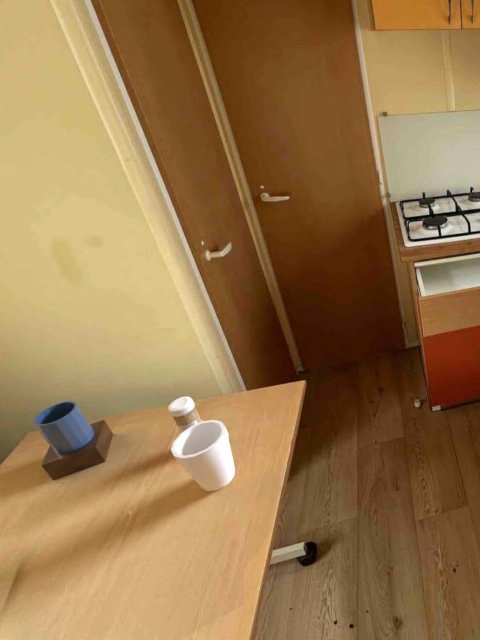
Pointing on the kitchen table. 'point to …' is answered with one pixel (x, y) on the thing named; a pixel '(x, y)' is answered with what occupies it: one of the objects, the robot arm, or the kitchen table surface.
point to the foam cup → (206, 454)
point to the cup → (64, 427)
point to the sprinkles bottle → (184, 413)
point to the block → (80, 454)
